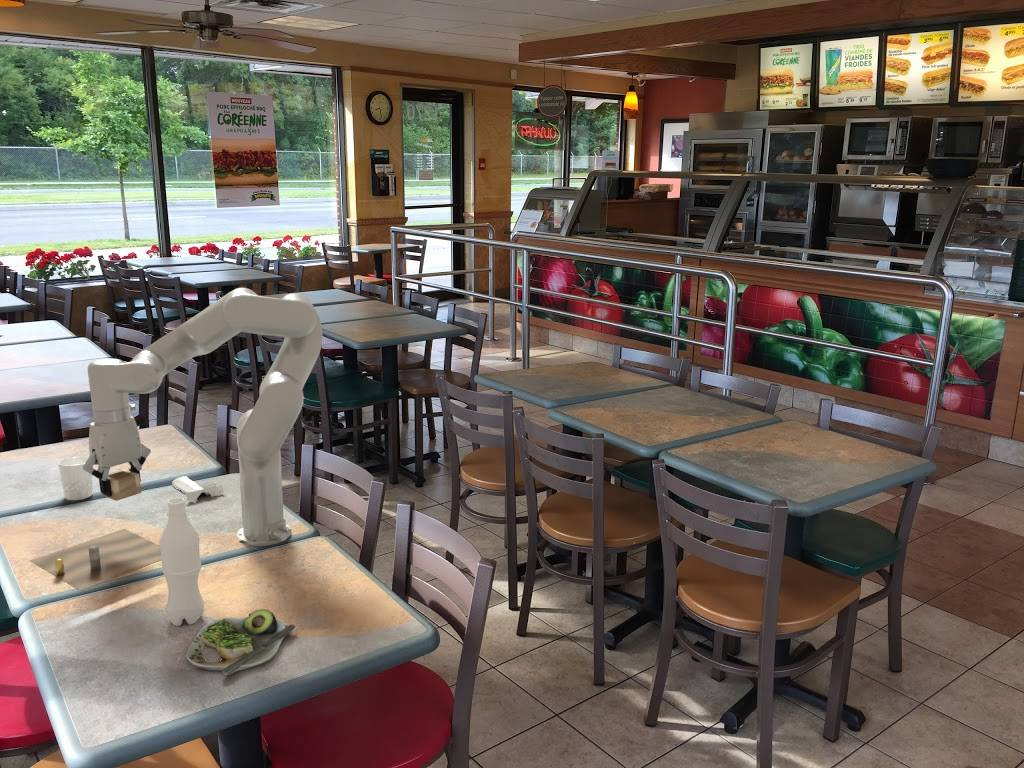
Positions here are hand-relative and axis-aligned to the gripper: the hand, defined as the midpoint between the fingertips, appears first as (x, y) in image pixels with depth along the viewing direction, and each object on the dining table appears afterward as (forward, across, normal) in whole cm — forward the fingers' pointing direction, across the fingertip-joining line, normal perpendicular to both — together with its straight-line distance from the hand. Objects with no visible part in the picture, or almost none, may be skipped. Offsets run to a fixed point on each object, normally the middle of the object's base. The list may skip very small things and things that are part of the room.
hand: (121, 490), depth 190 cm
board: (+15, +6, +2) cm, 16 cm away
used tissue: (+16, -32, -20) cm, 41 cm away
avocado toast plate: (+16, +9, +54) cm, 57 cm away
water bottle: (+15, +10, +38) cm, 42 cm away
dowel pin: (+13, +16, +2) cm, 21 cm away
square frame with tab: (+1, 0, -2) cm, 2 cm away
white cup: (+15, -10, -41) cm, 45 cm away
